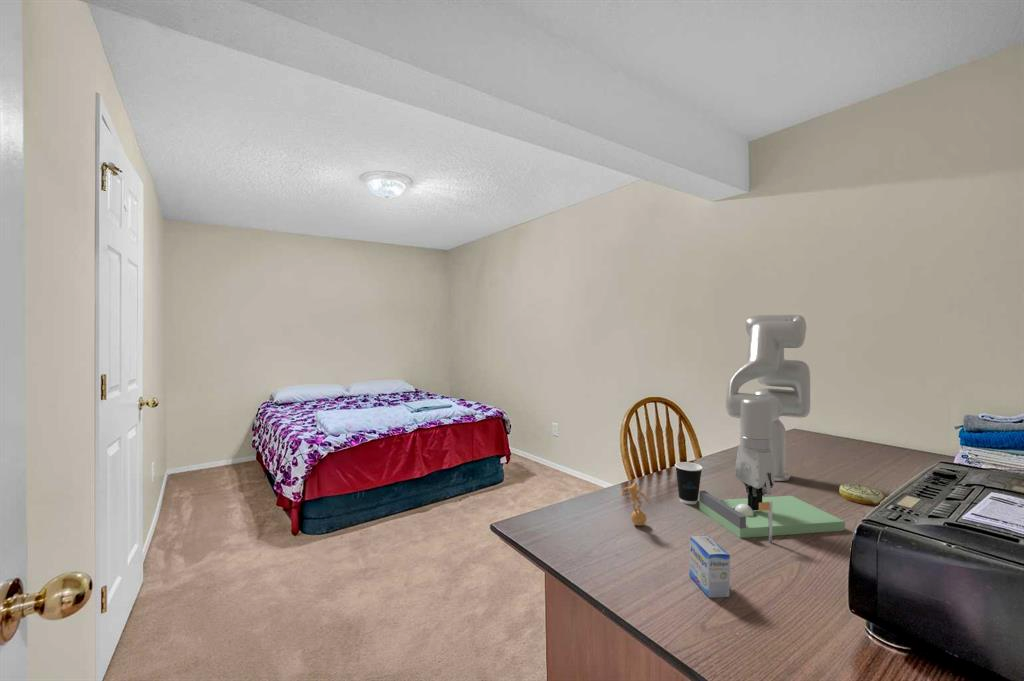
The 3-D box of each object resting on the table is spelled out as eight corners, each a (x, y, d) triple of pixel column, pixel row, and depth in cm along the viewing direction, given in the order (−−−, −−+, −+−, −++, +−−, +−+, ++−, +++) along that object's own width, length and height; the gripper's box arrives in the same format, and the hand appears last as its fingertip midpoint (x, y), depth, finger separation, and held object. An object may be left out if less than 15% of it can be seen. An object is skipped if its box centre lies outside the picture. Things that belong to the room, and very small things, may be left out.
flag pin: (757, 542, 107) (758, 502, 107) (770, 541, 107) (770, 501, 107) (759, 543, 106) (760, 503, 106) (772, 542, 107) (773, 502, 106)
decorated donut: (885, 509, 127) (885, 497, 127) (839, 501, 133) (839, 489, 133) (881, 498, 135) (881, 486, 135) (838, 491, 142) (838, 479, 142)
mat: (699, 509, 127) (699, 490, 127) (791, 503, 131) (791, 485, 131) (739, 538, 109) (740, 516, 109) (844, 530, 113) (845, 510, 113)
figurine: (656, 528, 115) (656, 483, 114) (644, 535, 111) (644, 488, 110) (629, 518, 121) (629, 475, 121) (616, 524, 117) (617, 480, 117)
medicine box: (688, 576, 92) (688, 535, 92) (708, 575, 93) (709, 534, 92) (708, 598, 84) (708, 554, 84) (730, 597, 85) (730, 553, 84)
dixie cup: (689, 495, 138) (689, 460, 138) (708, 504, 130) (708, 468, 130) (668, 498, 135) (669, 463, 135) (687, 508, 128) (687, 471, 127)
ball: (745, 511, 122) (732, 518, 120) (742, 498, 121) (729, 505, 120) (758, 519, 117) (745, 527, 116) (755, 505, 116) (742, 513, 115)
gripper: (726, 437, 126) (725, 499, 126) (762, 451, 111) (761, 521, 111) (749, 436, 127) (748, 498, 127) (788, 449, 112) (788, 519, 112)
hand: (754, 508), depth 119 cm, fingers closed
